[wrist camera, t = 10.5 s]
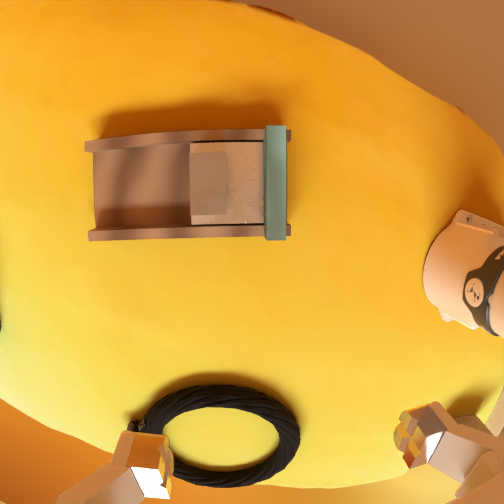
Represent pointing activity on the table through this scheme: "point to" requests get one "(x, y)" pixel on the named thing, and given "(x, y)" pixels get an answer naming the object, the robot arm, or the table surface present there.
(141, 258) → the table surface
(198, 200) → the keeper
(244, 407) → the cable lock
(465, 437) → the robot arm
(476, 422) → the cassette player
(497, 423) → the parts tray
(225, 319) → the table surface
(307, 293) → the table surface
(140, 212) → the drawer
